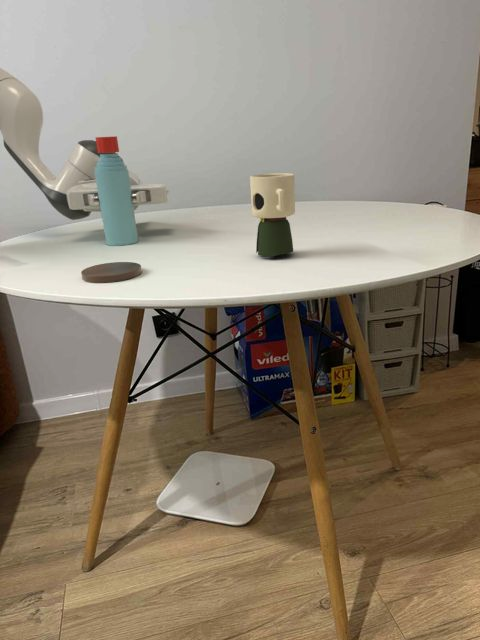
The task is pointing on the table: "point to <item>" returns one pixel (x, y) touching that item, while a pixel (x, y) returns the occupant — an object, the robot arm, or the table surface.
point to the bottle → (115, 200)
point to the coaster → (111, 272)
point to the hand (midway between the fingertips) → (115, 200)
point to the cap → (107, 144)
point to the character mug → (273, 212)
